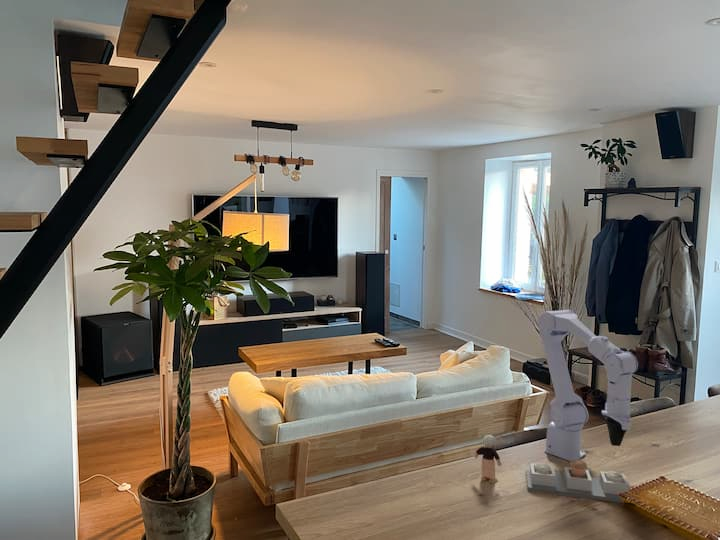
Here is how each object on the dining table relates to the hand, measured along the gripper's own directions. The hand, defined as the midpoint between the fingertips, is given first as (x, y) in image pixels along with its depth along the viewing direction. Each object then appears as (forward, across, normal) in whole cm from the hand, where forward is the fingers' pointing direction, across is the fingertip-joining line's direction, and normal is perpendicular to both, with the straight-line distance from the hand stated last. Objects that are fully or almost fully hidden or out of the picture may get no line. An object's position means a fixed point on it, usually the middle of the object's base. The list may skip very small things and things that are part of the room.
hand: (615, 444), depth 148 cm
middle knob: (+7, +5, -11) cm, 14 cm away
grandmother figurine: (+11, +4, -34) cm, 36 cm away
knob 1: (+9, +4, -20) cm, 22 cm away
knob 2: (+9, +6, -2) cm, 11 cm away
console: (+10, +5, -11) cm, 16 cm away
